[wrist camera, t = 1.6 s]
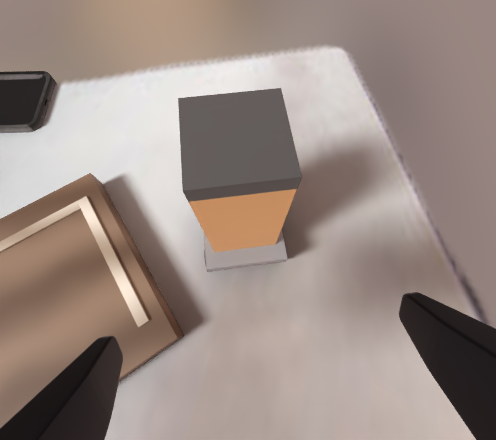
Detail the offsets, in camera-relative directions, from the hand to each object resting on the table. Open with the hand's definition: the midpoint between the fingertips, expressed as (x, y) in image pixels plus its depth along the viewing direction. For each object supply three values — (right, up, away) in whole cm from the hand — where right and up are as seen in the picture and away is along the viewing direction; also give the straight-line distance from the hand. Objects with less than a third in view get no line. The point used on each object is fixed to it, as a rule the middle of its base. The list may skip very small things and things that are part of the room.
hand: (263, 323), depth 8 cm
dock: (-16, -3, +13) cm, 21 cm away
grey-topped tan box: (-1, +2, +15) cm, 15 cm away
